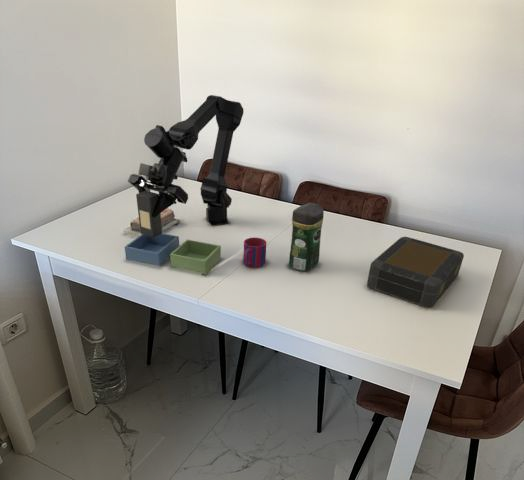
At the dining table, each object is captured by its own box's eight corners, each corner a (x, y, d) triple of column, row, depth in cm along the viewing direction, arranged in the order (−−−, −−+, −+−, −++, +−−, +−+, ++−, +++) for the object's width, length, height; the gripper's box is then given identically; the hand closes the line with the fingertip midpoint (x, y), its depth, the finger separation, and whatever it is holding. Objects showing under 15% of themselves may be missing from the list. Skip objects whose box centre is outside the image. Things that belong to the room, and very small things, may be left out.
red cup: (269, 261, 152) (270, 241, 148) (251, 274, 145) (251, 252, 141) (251, 255, 155) (252, 235, 151) (232, 267, 148) (232, 246, 144)
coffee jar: (299, 256, 156) (305, 198, 145) (322, 263, 153) (329, 204, 142) (283, 267, 150) (288, 207, 138) (306, 275, 146) (313, 214, 135)
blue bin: (148, 243, 159) (146, 230, 157) (179, 249, 157) (178, 236, 154) (126, 260, 149) (124, 246, 146) (159, 267, 146) (158, 253, 144)
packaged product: (156, 203, 174) (179, 209, 171) (157, 216, 177) (180, 223, 174) (121, 220, 161) (146, 227, 158) (123, 234, 164) (147, 241, 161)
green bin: (187, 253, 155) (187, 239, 152) (220, 259, 152) (220, 245, 150) (171, 268, 146) (169, 254, 144) (205, 275, 144) (205, 261, 141)
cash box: (395, 256, 159) (400, 233, 154) (458, 275, 150) (466, 252, 145) (362, 287, 142) (366, 262, 137) (431, 310, 133) (438, 285, 128)
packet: (149, 229, 151) (145, 190, 144) (162, 233, 149) (158, 194, 142) (140, 233, 148) (135, 194, 141) (153, 238, 146) (149, 198, 139)
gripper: (128, 145, 141) (105, 194, 140) (179, 157, 134) (155, 209, 133) (149, 166, 151) (128, 212, 150) (198, 179, 144) (176, 227, 143)
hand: (146, 214), depth 144 cm, fingers closed on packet, 5 cm apart
